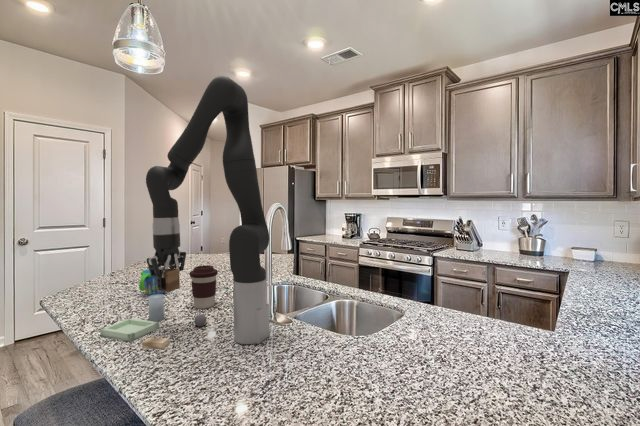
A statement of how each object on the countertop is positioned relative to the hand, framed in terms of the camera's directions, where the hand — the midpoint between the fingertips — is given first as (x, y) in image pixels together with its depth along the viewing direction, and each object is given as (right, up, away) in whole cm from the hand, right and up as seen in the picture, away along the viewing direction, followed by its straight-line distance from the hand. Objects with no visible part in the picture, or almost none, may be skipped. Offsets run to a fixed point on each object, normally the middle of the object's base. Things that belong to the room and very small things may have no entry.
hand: (168, 287), depth 101 cm
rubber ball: (+8, -11, +4) cm, 15 cm away
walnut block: (0, -1, 0) cm, 1 cm away
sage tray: (-11, -13, -1) cm, 18 cm away
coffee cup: (+3, -13, +24) cm, 27 cm away
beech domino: (+1, -14, -10) cm, 18 cm away
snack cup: (-24, -12, +41) cm, 49 cm away
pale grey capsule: (-9, -13, +10) cm, 19 cm away
